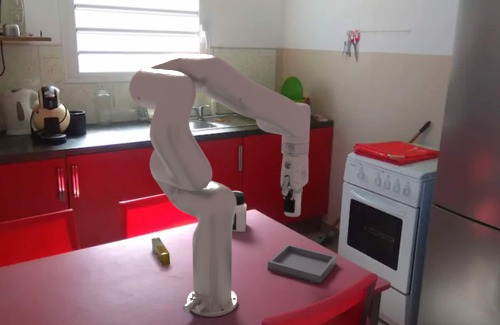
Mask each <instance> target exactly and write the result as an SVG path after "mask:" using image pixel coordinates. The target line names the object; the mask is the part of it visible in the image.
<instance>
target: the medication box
mask: <svg viewBox="0 0 500 325" xmlns="http://www.w3.org/2000/svg"><path fill="white" fill-rule="evenodd" d="M151 245H152V247H151V248H152V251H153V252H154V254H155V256H156V258H157V259H158V261H159V264H160V265H161V266H162V267H164V266H168V265H171V256H170V252H169V251H168V248H167V247H166V245H165V244H164V243H163V241H162V240H161V238H160V237H154V238H151Z"/></svg>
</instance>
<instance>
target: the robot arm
mask: <svg viewBox="0 0 500 325" xmlns="http://www.w3.org/2000/svg"><path fill="white" fill-rule="evenodd" d="M128 89H129V94H130V97H131V99H132V100H133V101H134V103H135V104H137V105H139V106H140V107H142V108H145V109H148V110H153V114H152V119H151V122H150V127H149V139H150V140H149V141H150V142H151V145H152V147H153V148H154V150H153V151H152V153H151V156H150V159H149V169H150V172H151V173H150V174H151V175H152V177H153V179H154V180H155V182H156V183H157V184H158V186H159V187H160V189H161V190H162V192H163V193H164V194H165V196H166V197H167V198H168V200H169V201H170V202H171V203H172V204H173V206H174V207H175V208H176V209H178V210H179V211H181V212H182V213H186V214H187V215H190V216H192V217H194V218H196V219H197V221H198V222H197V225H196V227H195V229H194V231H193V234H192V240H191V241H192V286H193V287H192V289H193V291H192V292H191V293H189V294H188V296H187V300H186V303H185V304H183V306H182V310H183V312H184V313H186V314H188V313H189V312H192V313H194V314H196V315H198V316H202V317H209V318H213V317H221V316H224V315H227V314H229V313H230V312H232V311H233V310H235V309H236V307H237V305H238V300H239V299H238V296H237V294H236V293H235V291H233V290H232V276H233V275H232V272H233V271H232V269H233V268H232V267H233V265H232V263H233V262H232V261H233V258H232V257H233V254H232V252H233V246H232V245H233V244H232V243H233V242H232V241H233V231H232V227H233V220H234V215H235V211H236V197H235V195H234V193H233V192H232V191H233V190H232V189H231V188H230V187H228V186H226V185H225V184H222V183H219V182H216V181H215V180H212V179H213V169H212V166H211V163H210V161H209V159H208V158H207V156H206V155H205V152H204V151H203V150H202V148H201V146H200V145H199V144H198V142H197V140H196V138H195V137H194V135H193V132H192V130H191V127H190V118H191V114H192V111H193V108H194V104H195V101H196V97H197V93H198V94H203V95H205V96H208V97H209V98H211V99H212V100H214V101H216V102H218V103H219V104H220V105H223V106H224V107H225V108H227V109H228V110H231V111H232V112H234V113H236V114H237V115H238V114H239V115H242V116H243V117H247V118H250V119H253V120H254V119H255V122H256V124H257V127H258V128H259V129H260V130H262V131H264V132H265V133H270V134H276V135H280V136H281V154H283V155H282V159H281V160H282V163H281V170H280V187H281V189H282V190H281V194H282V195H283V197H282V198H283V212H288V213H294V212H295V200H294V195H295V191H297V190H299V189H300V188H302V192H301V207H302V205H303V187H305V186H306V185H307V184H308V182H309V152H310V151H309V150H310V132H311V131H310V129H311V111H312V110H311V106H310V105H309V104H308V103H303V102H295V101H294V100H292V99H290V98H289V97H287V96H285V95H283V94H281V93H279V92H277V91H274V90H272V89H270V88H268V87H266V86H264V85H262V84H259V83H257V82H255V81H254V80H252V79H250V78H249V77H248V76H246V75H245V74H243V73H242V72H241V71H239V70H238V69H236V68H235V67H234V66H232V65H231V64H230V63H228V62H227V61H225V60H224V59H222V58H220V57H218V56H216V55H211V54H194V53H193V54H183V55H179V56H177V57H174V58H169V60H168V59H167V60H164V61H162V62H158V63H156V64H152V65H150V66H147V67H146V66H145V67H144V68H141V69H140V70H138V71H136V72H135V73H134V74H133V75H132V78H131V80H130V82H129V86H128ZM289 186H290V187H291V188H292V189H291V188H289ZM289 191H292V193H290V192H289Z"/></svg>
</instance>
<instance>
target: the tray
mask: <svg viewBox="0 0 500 325" xmlns="http://www.w3.org/2000/svg"><path fill="white" fill-rule="evenodd" d="M337 258H338V257H337V256H336V255H332V254H328V253H324V252H321V251H317V250H316V251H315V250H312V249H309V248H304V247H301V246H297V245H292V244H286V245H284V247H283V248H282V249H281V250H279V251H278V252H277V253H276V254H275V255H274V256H273V257H272V258H270V259H269V260H268V261H267V270H268V271H273V272H276V273H279V274H283V275H286V276H289V277H294V278H296V279H300V280H304V281H307V282H310V283H314V284H318V285H320V284H322V282H323V281H324V280H325V278H326V277H327V276H328V275H329V274H330V273H331V271H332V270H333V269H334V267H335V266H336V265H337Z"/></svg>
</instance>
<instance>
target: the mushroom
mask: <svg viewBox="0 0 500 325" xmlns="http://www.w3.org/2000/svg"><path fill="white" fill-rule="evenodd" d="M289 188H291V187H290V186H289ZM291 189H292V188H291ZM289 192H290V193H292V191H289ZM301 192H302V188H300V189H299V190H297V191H295V195H294V200H295V212H294V213H288V212H284V211H283V212H284V215H285V216H286V217H290V218H291V217H292V218H296V217H299V216H300V215H301V211H302V206H301Z"/></svg>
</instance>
